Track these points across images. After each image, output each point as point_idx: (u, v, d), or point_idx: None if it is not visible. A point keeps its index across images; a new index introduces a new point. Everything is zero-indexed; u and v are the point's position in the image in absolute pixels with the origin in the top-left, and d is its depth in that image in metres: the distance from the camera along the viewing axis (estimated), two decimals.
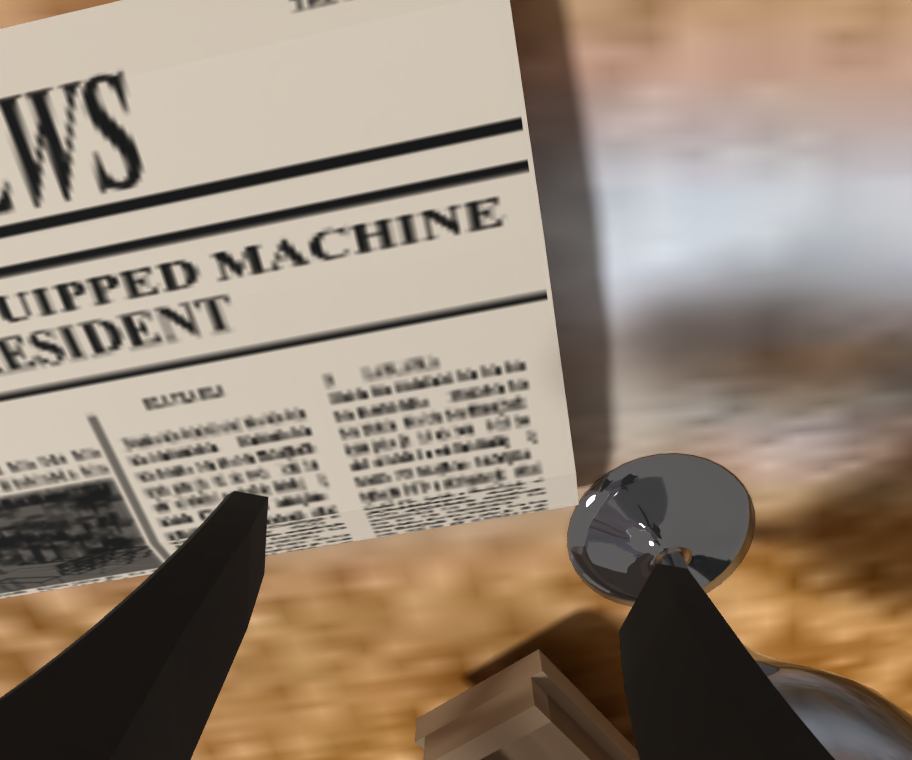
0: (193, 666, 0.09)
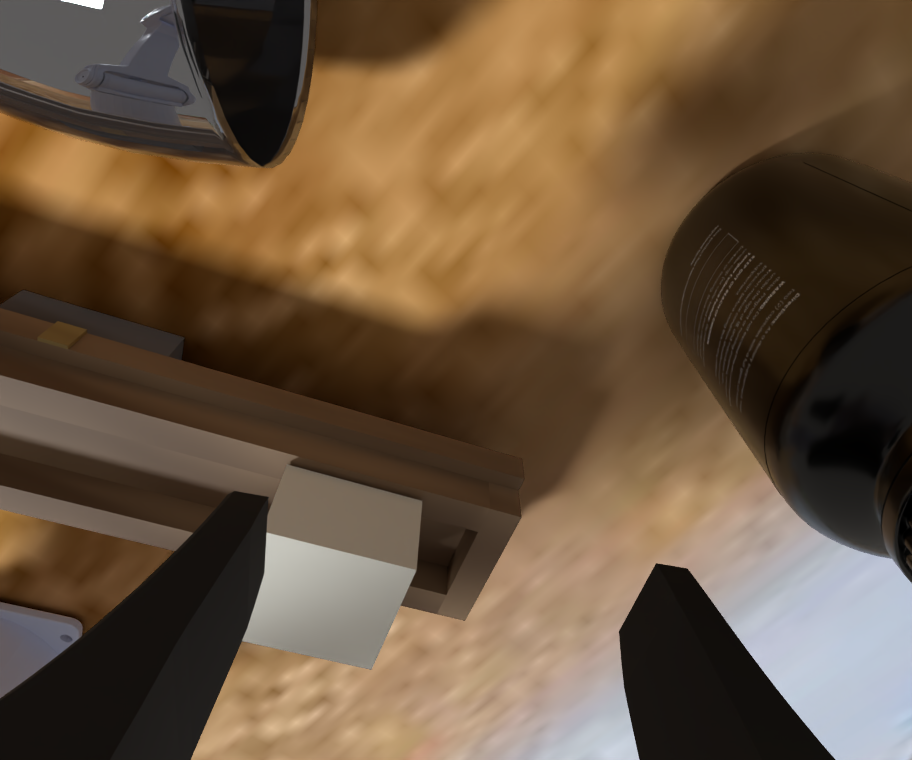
0: (193, 666, 0.09)
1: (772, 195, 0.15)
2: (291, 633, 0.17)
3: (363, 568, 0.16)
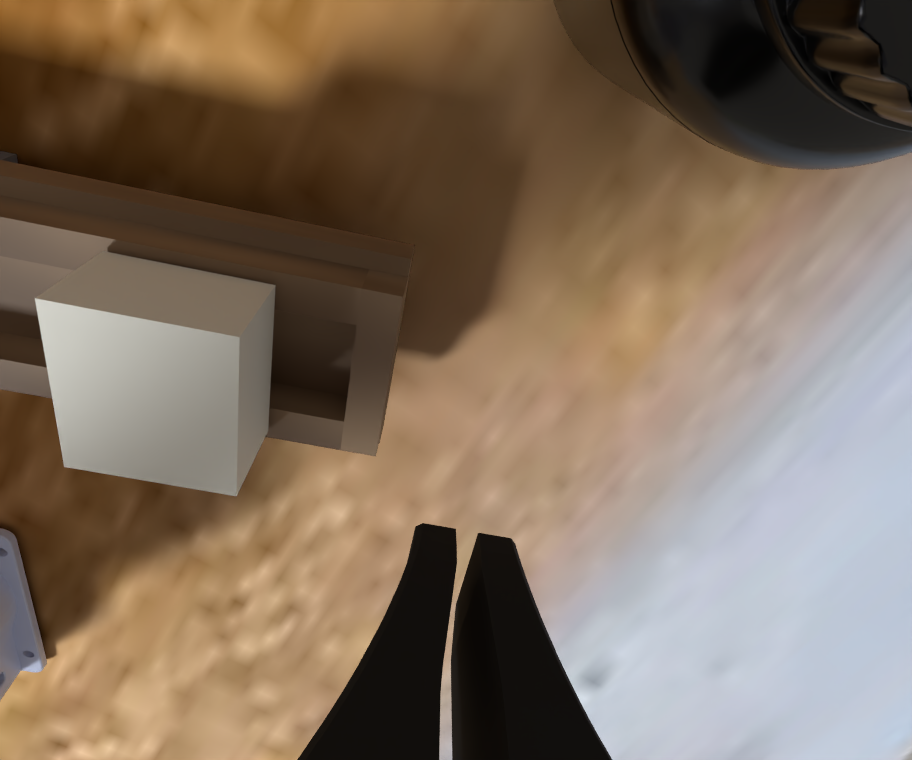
0: None
1: None
2: (126, 451, 0.14)
3: (174, 342, 0.13)
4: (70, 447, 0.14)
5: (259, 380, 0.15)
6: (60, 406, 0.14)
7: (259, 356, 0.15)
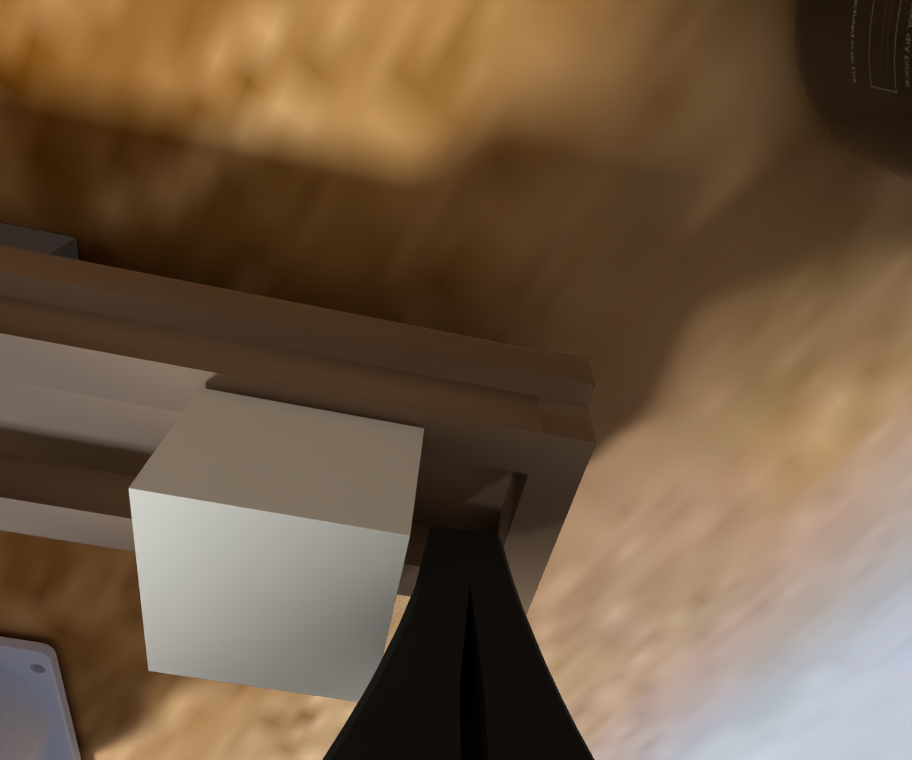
0: None
1: None
2: (233, 656, 0.11)
3: (318, 539, 0.09)
4: (159, 651, 0.11)
5: None
6: (150, 607, 0.10)
7: None
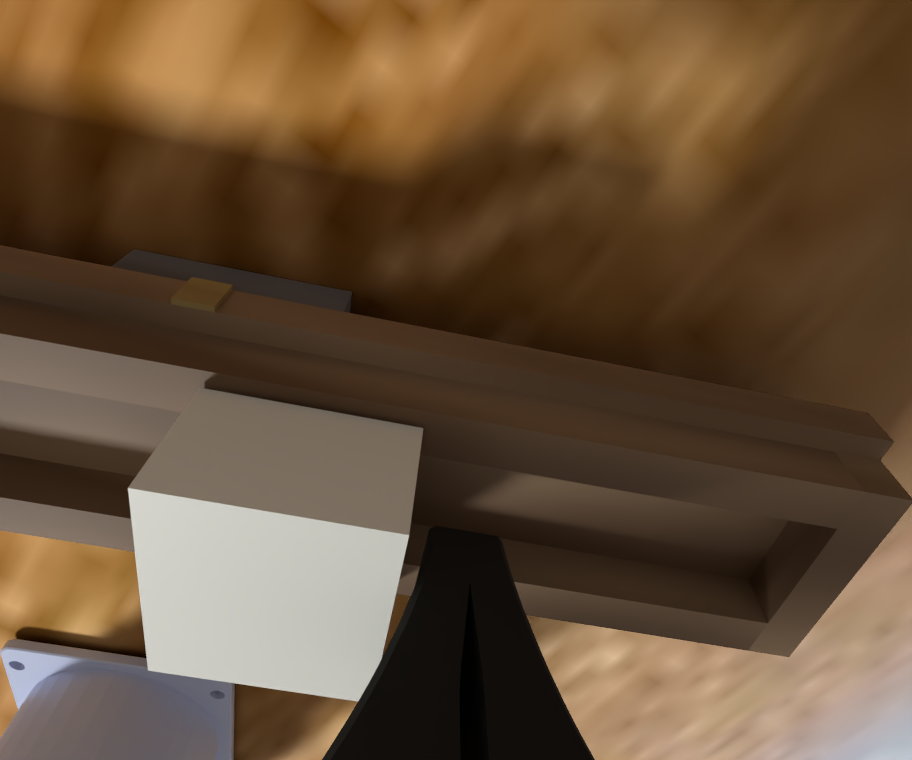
0: None
1: None
2: (232, 656, 0.11)
3: (316, 539, 0.09)
4: (158, 651, 0.11)
5: None
6: (150, 607, 0.10)
7: None
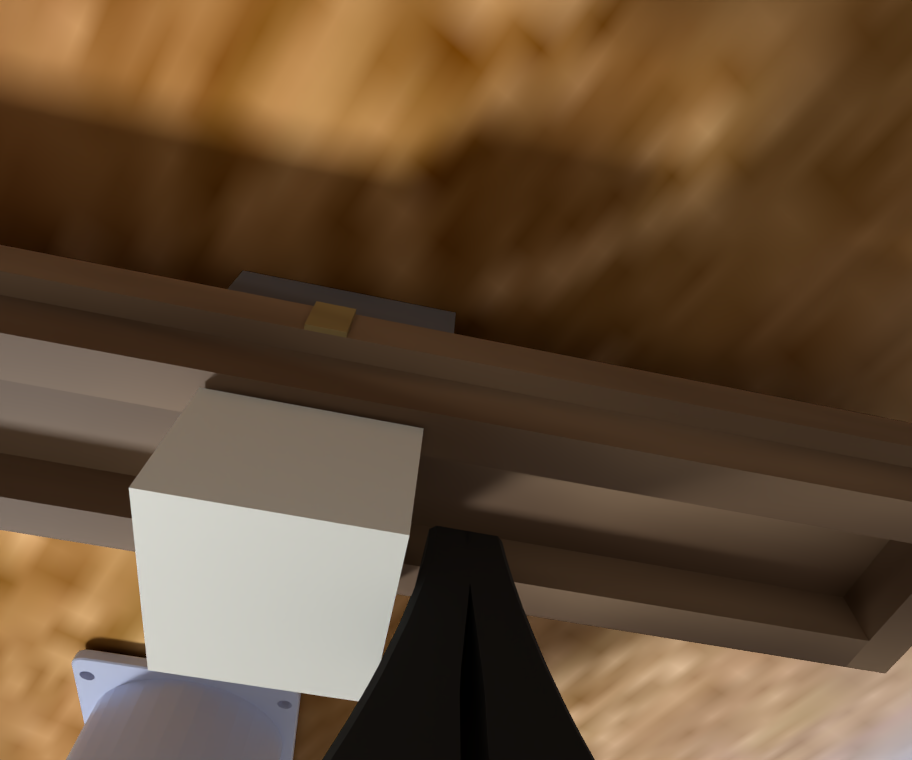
0: None
1: None
2: (232, 655, 0.11)
3: (317, 539, 0.09)
4: (158, 650, 0.11)
5: None
6: (150, 607, 0.10)
7: None
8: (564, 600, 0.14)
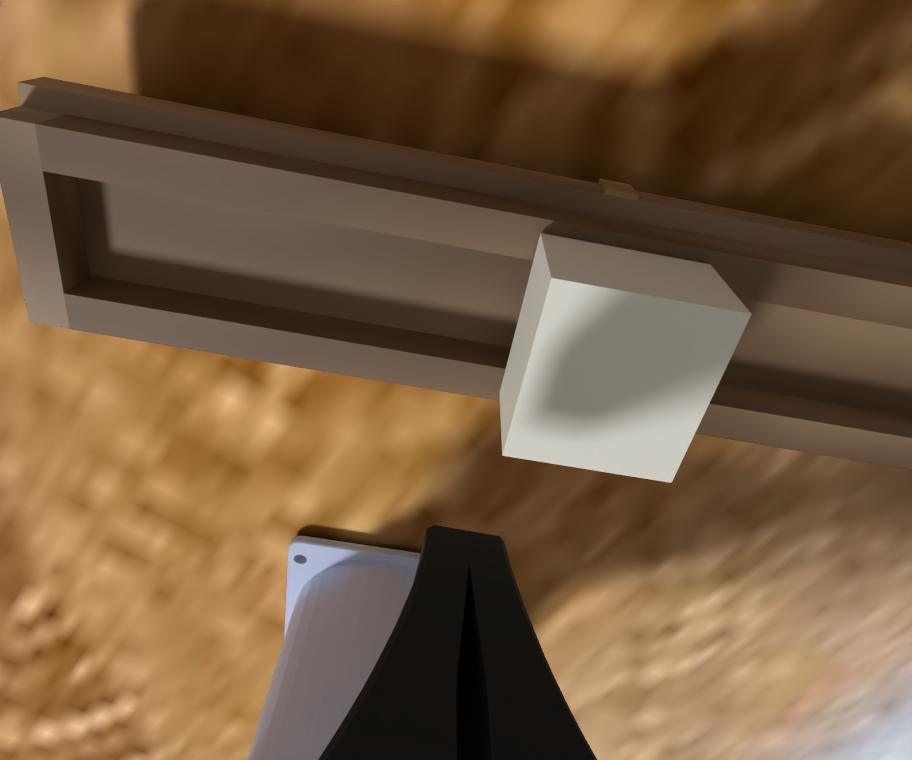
0: None
1: None
2: (575, 438, 0.14)
3: (680, 320, 0.12)
4: (518, 435, 0.14)
5: None
6: (526, 392, 0.13)
7: None
8: (788, 427, 0.17)
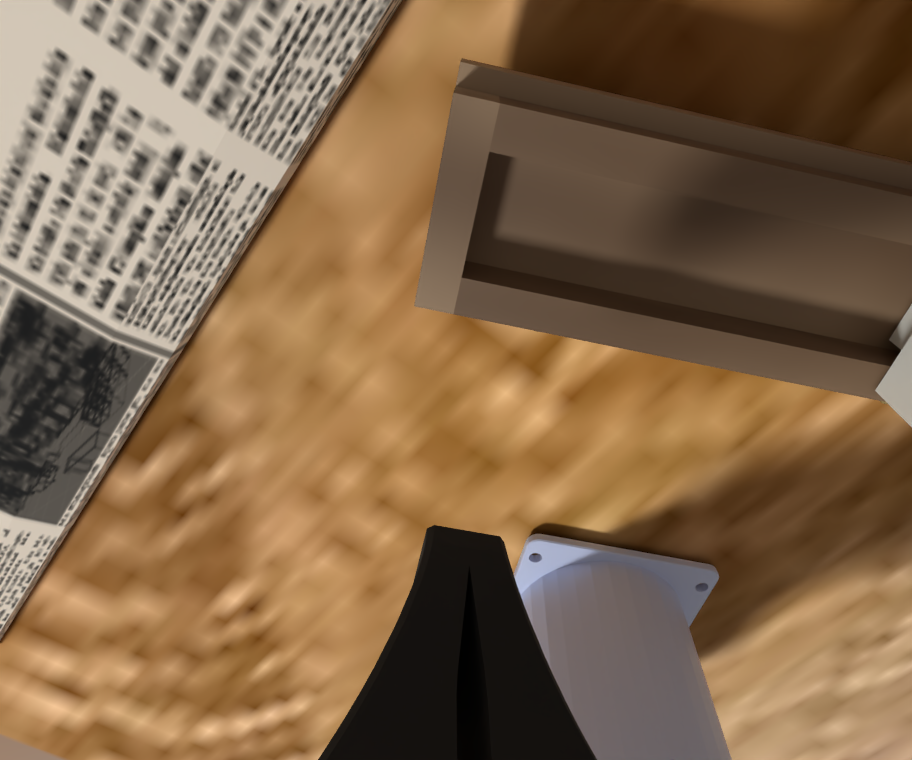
0: None
1: None
2: None
3: None
4: None
5: None
6: None
7: None
8: None
